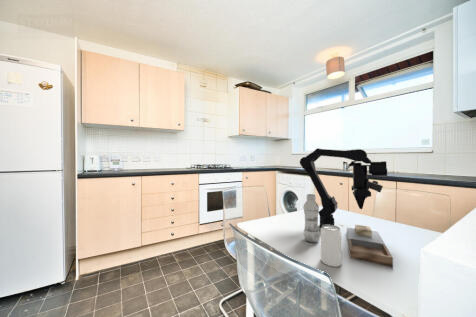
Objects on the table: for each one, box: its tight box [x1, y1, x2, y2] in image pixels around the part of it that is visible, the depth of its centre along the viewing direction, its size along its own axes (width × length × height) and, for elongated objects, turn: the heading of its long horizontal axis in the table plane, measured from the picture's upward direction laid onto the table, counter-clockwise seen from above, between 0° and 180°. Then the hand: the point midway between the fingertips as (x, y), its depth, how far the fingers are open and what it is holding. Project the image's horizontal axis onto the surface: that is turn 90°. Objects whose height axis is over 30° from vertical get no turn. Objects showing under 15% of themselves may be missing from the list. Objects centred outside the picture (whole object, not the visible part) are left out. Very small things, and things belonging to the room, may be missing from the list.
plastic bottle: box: [303, 193, 320, 243], centre depth 81 cm, size 6×7×20 cm
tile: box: [354, 224, 373, 237], centre depth 82 cm, size 6×6×2 cm
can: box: [320, 224, 343, 268], centre depth 64 cm, size 6×6×12 cm
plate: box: [346, 227, 386, 250], centre depth 80 cm, size 12×14×3 cm
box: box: [347, 239, 394, 267], centre depth 69 cm, size 12×11×3 cm
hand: (360, 208), depth 89 cm, fingers open, 3 cm apart
